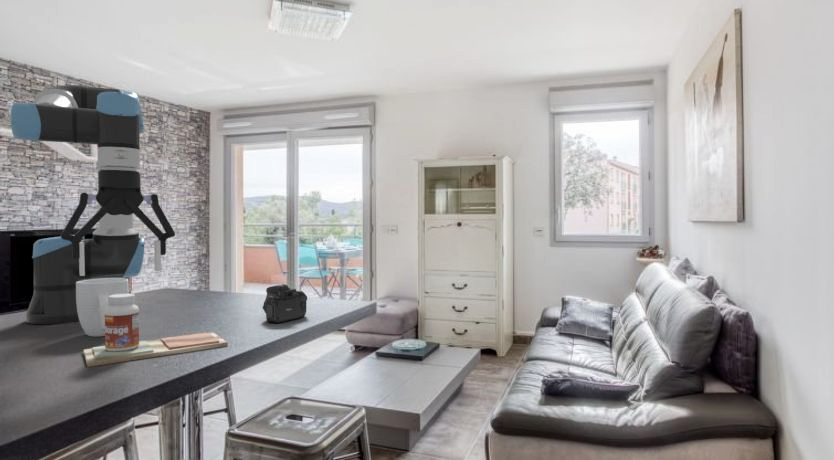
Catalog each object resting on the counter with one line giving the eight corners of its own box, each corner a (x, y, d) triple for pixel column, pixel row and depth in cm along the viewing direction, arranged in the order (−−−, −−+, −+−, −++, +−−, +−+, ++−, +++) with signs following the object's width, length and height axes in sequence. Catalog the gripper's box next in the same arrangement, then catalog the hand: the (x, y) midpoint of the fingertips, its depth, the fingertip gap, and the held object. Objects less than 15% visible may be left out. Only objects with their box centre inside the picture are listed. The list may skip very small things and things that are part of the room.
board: (83, 353, 106) (83, 347, 106) (213, 335, 122) (212, 330, 122) (87, 366, 97) (87, 360, 97) (227, 345, 112) (227, 340, 112)
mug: (132, 338, 119) (131, 283, 119) (76, 345, 113) (75, 286, 113) (127, 326, 132) (127, 276, 131) (76, 332, 125) (75, 279, 125)
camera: (277, 314, 148) (277, 280, 148) (309, 315, 146) (309, 281, 146) (255, 324, 135) (254, 286, 135) (289, 325, 133) (289, 287, 133)
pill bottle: (98, 352, 102) (97, 297, 102) (115, 344, 108) (114, 293, 108) (130, 352, 103) (129, 297, 102) (145, 344, 109) (144, 292, 108)
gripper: (44, 165, 94) (47, 279, 95) (188, 171, 109) (189, 270, 109) (44, 167, 100) (46, 275, 101) (181, 173, 115) (182, 267, 116)
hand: (121, 272), depth 105 cm, fingers open, 13 cm apart
